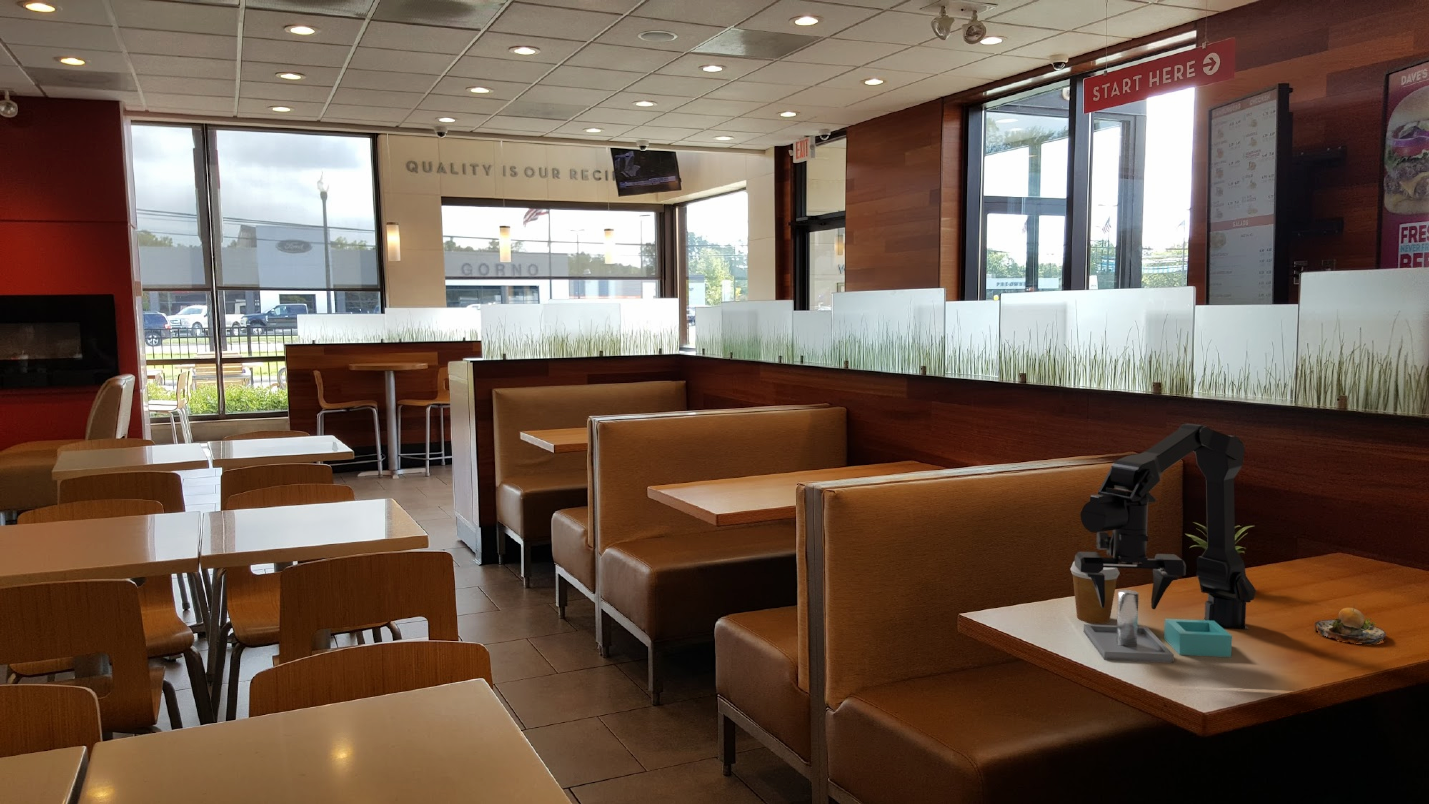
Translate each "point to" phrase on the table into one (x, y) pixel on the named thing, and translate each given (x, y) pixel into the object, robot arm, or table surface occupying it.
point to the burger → (1350, 628)
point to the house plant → (1202, 542)
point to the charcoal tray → (1145, 650)
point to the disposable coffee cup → (1093, 595)
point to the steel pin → (1127, 618)
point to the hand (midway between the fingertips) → (1127, 607)
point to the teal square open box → (1197, 637)
